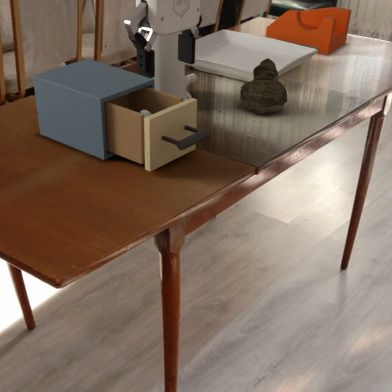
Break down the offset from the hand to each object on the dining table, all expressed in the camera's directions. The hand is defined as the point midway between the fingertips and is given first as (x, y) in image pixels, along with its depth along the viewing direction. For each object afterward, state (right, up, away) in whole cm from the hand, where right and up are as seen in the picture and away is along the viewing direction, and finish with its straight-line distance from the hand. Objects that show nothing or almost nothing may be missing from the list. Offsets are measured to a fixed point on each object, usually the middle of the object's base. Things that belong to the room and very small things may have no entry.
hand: (166, 68), depth 100 cm
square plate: (+16, +24, +53) cm, 60 cm away
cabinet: (-14, -5, +18) cm, 23 cm away
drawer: (-3, -10, +11) cm, 15 cm away
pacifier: (-3, -8, +11) cm, 15 cm away
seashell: (+18, +5, +31) cm, 36 cm away
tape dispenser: (+34, +38, +69) cm, 86 cm away
